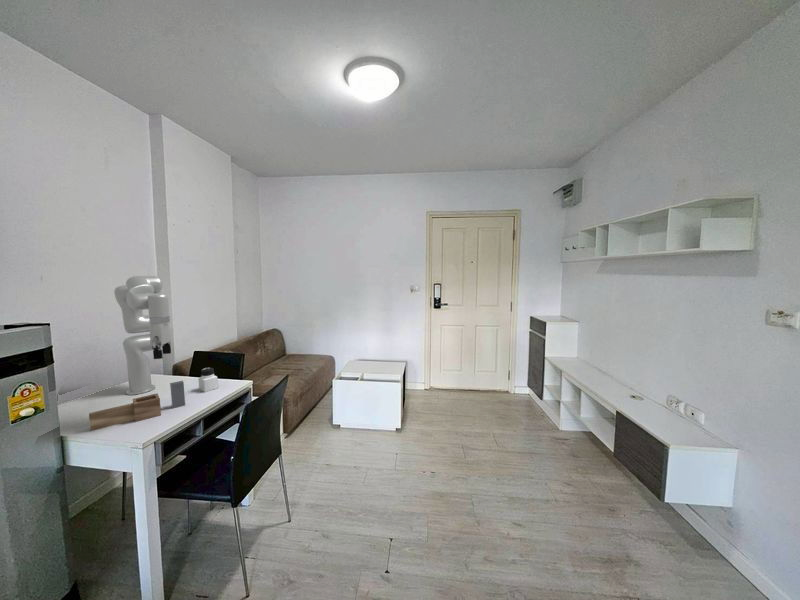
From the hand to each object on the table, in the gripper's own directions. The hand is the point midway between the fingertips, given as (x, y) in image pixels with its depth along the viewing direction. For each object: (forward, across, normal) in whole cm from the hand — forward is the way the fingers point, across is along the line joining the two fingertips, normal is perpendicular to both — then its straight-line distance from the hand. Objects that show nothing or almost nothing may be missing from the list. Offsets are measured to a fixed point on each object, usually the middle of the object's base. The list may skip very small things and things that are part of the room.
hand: (162, 356), depth 141 cm
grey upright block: (+27, -4, +3) cm, 27 cm away
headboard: (+27, +5, -13) cm, 30 cm away
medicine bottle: (+27, -25, +11) cm, 38 cm away
